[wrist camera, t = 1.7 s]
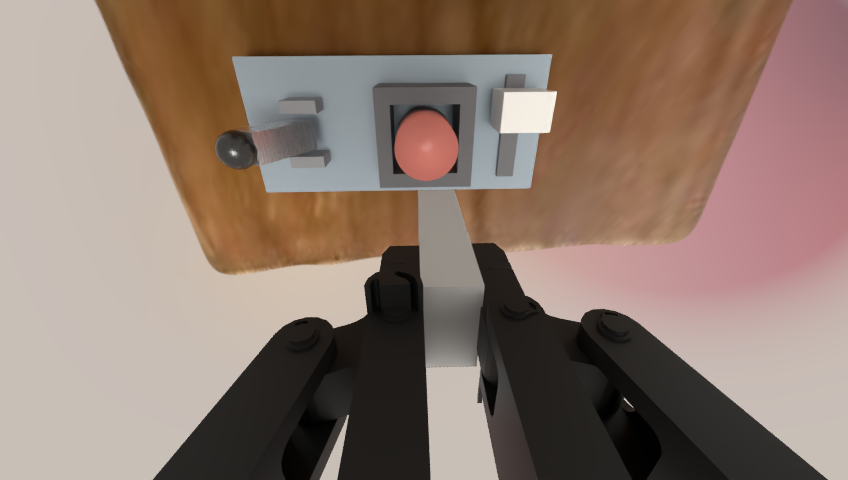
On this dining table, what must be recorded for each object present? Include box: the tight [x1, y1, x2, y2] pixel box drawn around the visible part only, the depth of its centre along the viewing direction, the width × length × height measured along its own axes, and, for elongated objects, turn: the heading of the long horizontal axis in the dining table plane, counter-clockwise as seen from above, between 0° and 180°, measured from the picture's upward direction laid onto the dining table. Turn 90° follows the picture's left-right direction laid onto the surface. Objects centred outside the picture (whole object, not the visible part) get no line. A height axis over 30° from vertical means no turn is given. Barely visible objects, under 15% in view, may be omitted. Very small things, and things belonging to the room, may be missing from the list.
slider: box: [490, 88, 557, 133], centre depth 27 cm, size 3×4×4 cm
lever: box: [215, 118, 318, 169], centre depth 26 cm, size 3×3×8 cm
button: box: [395, 106, 458, 181], centre depth 26 cm, size 5×5×6 cm
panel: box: [232, 54, 552, 192], centre depth 29 cm, size 12×27×8 cm, turn 90°
